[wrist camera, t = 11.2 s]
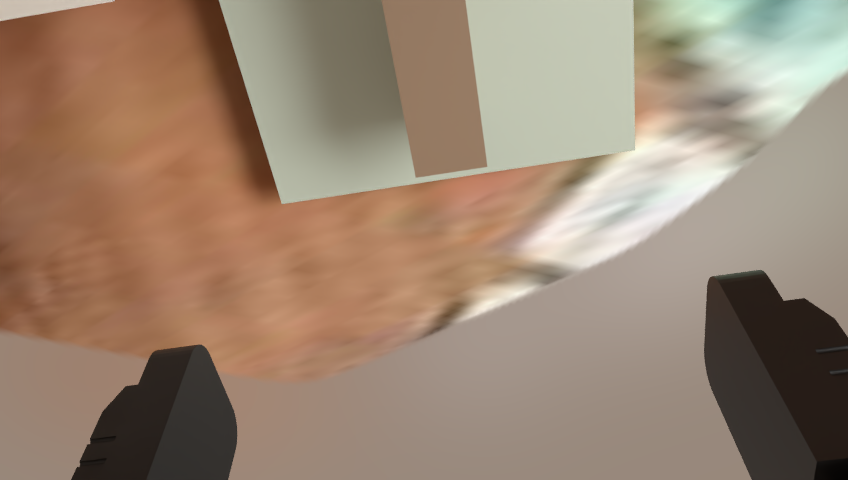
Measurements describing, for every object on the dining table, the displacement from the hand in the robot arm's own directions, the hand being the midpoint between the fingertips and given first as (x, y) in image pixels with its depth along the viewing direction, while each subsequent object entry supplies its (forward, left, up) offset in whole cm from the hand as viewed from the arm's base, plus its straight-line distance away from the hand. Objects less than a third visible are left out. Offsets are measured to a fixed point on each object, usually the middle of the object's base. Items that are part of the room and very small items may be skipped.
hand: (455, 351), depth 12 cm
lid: (0, 0, -20) cm, 20 cm away
